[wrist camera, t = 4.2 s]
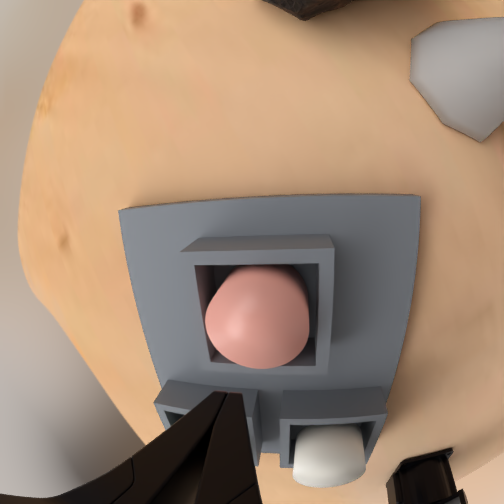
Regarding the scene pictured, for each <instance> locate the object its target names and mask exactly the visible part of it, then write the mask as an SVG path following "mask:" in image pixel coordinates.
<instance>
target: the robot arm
mask: <svg viewBox="0 0 504 504" xmlns="http://www.w3.org/2000/svg"><path fill="white" fill-rule="evenodd" d="M452 453H453V449H452V448H451V449H448V450H444V451H441V452H437V453H433V454H430V455H426V456H422V457H417V458H413V459H408V460H404V461H402V462H401V463H400V464H399V466H398V467H397V469H396V470H395V472H394V473H393V475H392V476H391V478H390V479H389V481H388V482H387V483H386V488H387V493H388V502H389V504H460V503H461V504H468V501H467V498H466V495H465V492H464V491H463V489H461V490H459V491H458V492H457V489H456V486H455V482H454V478H453V474H452V471H451V468H450V464H449V461H448V459H449V457H450V456H451V455H452ZM0 504H263V503H262V499H261V495H260V490H259V485H258V480H257V475H256V469H255V464H254V458H253V453H252V447H251V441H250V436H249V430H248V424H247V418H246V412H245V406H244V399H243V394H242V393H241V392H229V393H228V392H227V391H219V390H215V391H213V392H211V393H210V394H209V395H208V396H207V397H206V398H204V399H203V400H202V401H201V402H200V403H199V404H197V405H196V406H195V407H194V408H193V409H191V410H190V411H189V412H188V413H187V414H185V415H184V416H183V417H182V418H180V419H179V420H178V421H177V422H176V423H174V424H173V425H172V426H171V427H169V428H168V429H167V430H165V431H164V432H163V433H162V434H160V435H159V436H158V437H156V438H155V439H154V440H153V441H151V442H150V443H149V444H147V445H146V446H145V447H143V448H142V449H141V450H139V451H138V452H136V453H135V454H134V455H132V458H131V457H129V458H128V459H127V460H125V461H124V462H122V463H121V464H120V465H118V466H116V467H115V468H113V469H112V470H110V471H109V472H107V473H105V474H103V475H101V476H99V477H98V478H96V479H94V480H92V481H90V482H88V483H86V484H83V485H81V486H79V487H77V488H75V489H72V490H71V491H68V492H66V493H63V494H61V495H58V496H54V497H49V498H32V497H21V496H13V495H6V494H0Z"/></svg>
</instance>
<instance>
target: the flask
mask: <svg viewBox="0 0 504 504" xmlns="http://www.w3.org/2000/svg"><path fill="white" fill-rule="evenodd" d="M409 81H410V82H411V83H412V84H413V85H414V86H415V88H416V89H417V90H418V91H419V93H420V94H421V95H422V96H423V98H424V99H425V100H426V101H427V103H428V104H429V105H430V107H431V108H432V109H433V111H434V112H435V113H436V115H437V116H438V117H439V119H440V120H441V122H442V123H443V124H445V125H447V126H449V127H451V128H453V129H455V130H458V131H460V132H462V133H464V134H466V135H468V136H469V137H471V138H473V139H475V140H477V141H479V142H482V141H483V140H484V139H485V138H486V137H488V136H489V135H490V134H491V133H492V132H493V131H494V130H495V129H496V128H497V127H498V126H499V125H500V124H501V123H502V122H503V121H504V17H493V18H479V19H466V20H452V21H443V22H437V23H435V24H434V25H432V26H431V27H429V28H427V29H426V30H424V31H423V32H421V33H420V34H418V35H417V36H415V37H414V38H412V39H411V64H410V79H409Z"/></svg>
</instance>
